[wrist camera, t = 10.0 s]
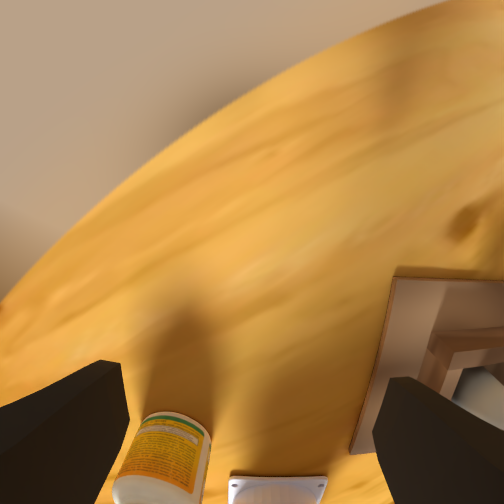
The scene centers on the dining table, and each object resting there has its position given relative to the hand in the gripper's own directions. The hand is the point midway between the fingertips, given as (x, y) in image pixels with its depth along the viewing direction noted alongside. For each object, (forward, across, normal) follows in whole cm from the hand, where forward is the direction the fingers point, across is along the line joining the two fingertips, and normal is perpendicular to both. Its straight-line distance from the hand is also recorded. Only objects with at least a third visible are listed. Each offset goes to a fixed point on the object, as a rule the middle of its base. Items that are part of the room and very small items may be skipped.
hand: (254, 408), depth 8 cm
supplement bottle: (+11, +5, +12) cm, 17 cm away
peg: (+10, -15, +6) cm, 19 cm away
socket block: (+10, -15, +6) cm, 19 cm away
